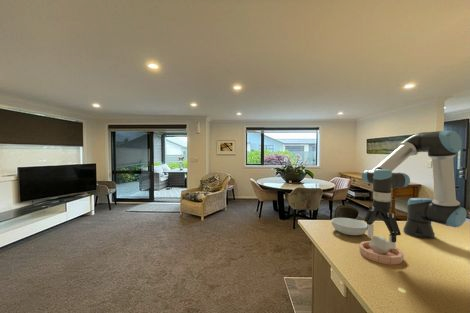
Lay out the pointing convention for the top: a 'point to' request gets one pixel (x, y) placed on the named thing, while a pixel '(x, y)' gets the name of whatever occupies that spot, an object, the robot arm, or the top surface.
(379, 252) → the die
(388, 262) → the tray
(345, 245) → the top surface
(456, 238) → the top surface
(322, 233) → the top surface
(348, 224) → the serving bowl
